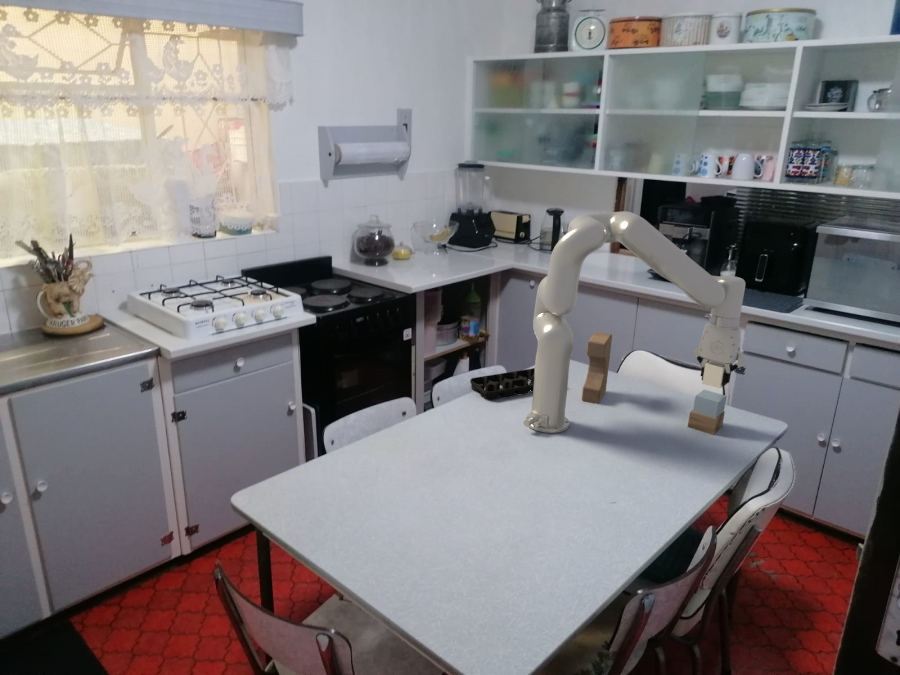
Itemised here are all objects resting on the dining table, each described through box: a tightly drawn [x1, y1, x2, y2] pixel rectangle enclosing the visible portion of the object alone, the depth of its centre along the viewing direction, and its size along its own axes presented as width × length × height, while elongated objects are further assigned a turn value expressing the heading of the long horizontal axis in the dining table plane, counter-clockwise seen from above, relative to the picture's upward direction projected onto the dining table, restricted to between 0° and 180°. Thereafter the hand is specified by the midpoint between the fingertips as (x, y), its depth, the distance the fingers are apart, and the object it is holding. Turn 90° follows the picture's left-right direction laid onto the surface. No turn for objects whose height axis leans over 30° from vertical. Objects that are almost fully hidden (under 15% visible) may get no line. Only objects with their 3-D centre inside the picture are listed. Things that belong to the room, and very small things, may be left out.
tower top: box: [692, 389, 727, 418], centre depth 188 cm, size 6×6×5 cm
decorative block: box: [581, 331, 613, 405], centre depth 206 cm, size 11×6×20 cm, turn 155°
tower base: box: [687, 409, 726, 436], centre depth 189 cm, size 8×8×5 cm
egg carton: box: [469, 367, 535, 401], centre depth 213 cm, size 18×30×4 cm, turn 128°
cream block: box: [701, 360, 725, 389], centre depth 185 cm, size 5×5×6 cm
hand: (714, 381), depth 186 cm, fingers closed on cream block, 5 cm apart
